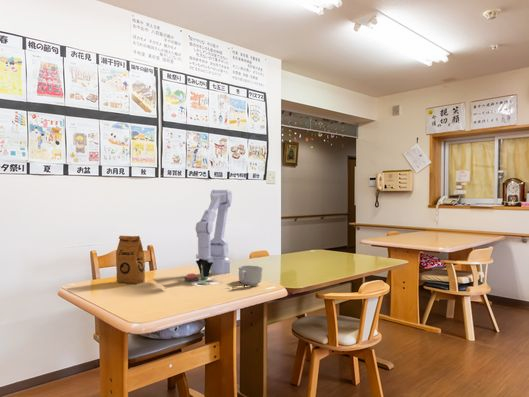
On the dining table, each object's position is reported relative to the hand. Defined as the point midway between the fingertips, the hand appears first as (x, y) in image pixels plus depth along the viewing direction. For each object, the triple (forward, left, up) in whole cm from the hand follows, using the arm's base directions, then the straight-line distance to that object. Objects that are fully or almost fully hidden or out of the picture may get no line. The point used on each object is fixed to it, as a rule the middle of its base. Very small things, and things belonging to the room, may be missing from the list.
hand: (204, 275), depth 182 cm
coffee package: (+28, -19, -3) cm, 35 cm away
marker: (0, 0, -2) cm, 2 cm away
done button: (+7, 0, 0) cm, 7 cm away
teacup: (-14, +18, -3) cm, 22 cm away
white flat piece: (+2, +5, -3) cm, 6 cm away
